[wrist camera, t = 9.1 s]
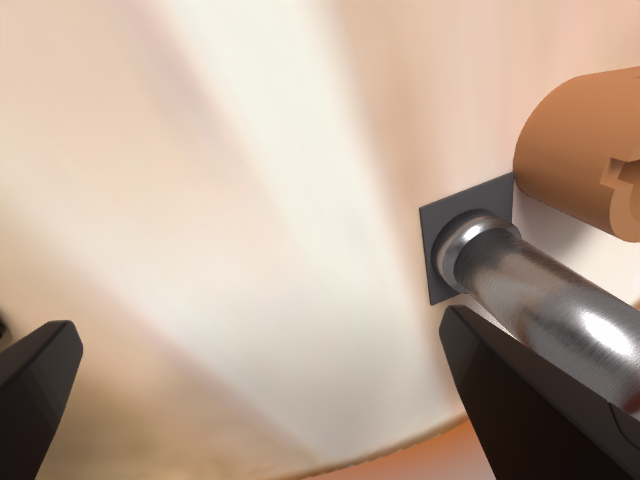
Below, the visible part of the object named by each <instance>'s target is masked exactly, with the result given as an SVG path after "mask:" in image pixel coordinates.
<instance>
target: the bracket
mask: <svg viewBox="0 0 640 480" xmlns="http://www.w3.org/2000/svg"><path fill="white" fill-rule="evenodd" d="M513 172H514V177H515V180H516V183H517V185H518V187H519V188H520V189H521V190H522V192H523V193H525V194H526V195H528V196H530V197H532V198H534V199H536V200H538V201H540V202H543V203H545V204H547V205H549V206H551V207H553V208H555V209H557V210H560V211H562V212H564V213H566V214H568V215H570V216H572V217H574V218H577V219H579V220H581V221H583V222H585V223H587V224H589V225H592V226H594V227H596V228H598V229H600V230H602V231H604V232H606V233H609V234H611V235H613V236H615V237H617V238H619V239H621V240H623V241H627V242H633V243H635V242H640V66H639V67H633V68H626V69H620V70H613V71H607V72H601V73H594V74H588V75H582V76H578V77H575V78H573V79H570V80H568V81H566V82H565V83H563V84H561V85H560V86H558V87H557V88H556V89H554V90H553V91H552V92H551V93H549V94H548V95H547V96H546V97H545V98H544V99H543V100H542V101H541V102H540V103H539V105H538V106H537V107H536V108H535V110H534V111H533V112H532V114H531V115H530V117H529V118H528V120H527V122H526V123H525V125H524V127H523V129H522V131H521V134H520V136H519V138H518V141H517V144H516V149H515V154H514V159H513Z"/></svg>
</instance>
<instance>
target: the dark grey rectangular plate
mask: <svg viewBox="0 0 640 480" xmlns="http://www.w3.org/2000/svg"><path fill="white" fill-rule="evenodd" d="M513 187H514V172H510V173H508V174H505V175H503V176H500V177H498V178H495V179H492V180H490V181H487V182H485V183H482V184H480V185H477V186H474V187H472V188H469V189H467V190H464V191H461V192H459V193H456V194H454V195H451V196H449V197H446V198H443V199H441V200H438V201H436V202H433V203H431V204H428V205H425V206H423V207H420V208H419V209H420V218H421V226H422V235H423V244H424V252H425V261H426V270H427V278H428V287H429V296H430V304H431V305H435V304H437V303H440V302H442V301H444V300H447V299H449V298H451V297H454V296H456V295H459V294H461V293H460V292H458V291H456V290H454V289H453V288H452V287H451V286H450V285H449V284H448V283H447V282H446V281H445V280H444V279H443V278H442V277H441V276H440V275H439V274H438V273H437V272H436V271H435V270H434V268H433V266H432V263H431V249H432V246H433V243H434V241H435V239H436V237H437V235H438V234H439V232H440V231H441V229H442V228H443V227H444V226H445V225H446V224H447V223H448V222H449V221H450V220H452V219H453V218H454V217H456V216H457V215H459V214H461V213H463V212H465V211H468V210H472V209H486V210H489V211H491V212H493V213H495V214H496V215H498V216H500V217H501V218H503V219H505V220H507V221H508V222H510V223H512V206H513Z"/></svg>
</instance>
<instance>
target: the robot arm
mask: <svg viewBox="0 0 640 480" xmlns="http://www.w3.org/2000/svg"><path fill="white" fill-rule="evenodd" d="M5 332H6V328H5V327H4V325H2V324H1V323H0V339H1V338H2V336H3V335H4V333H5ZM439 336H440V339H441V342H442V345H443V349H444V352H445V355H446V358H447V361H448V364H449V367H450V370H451V373H452V376H453V379H454V382H455V385H456V388H457V391H458V393H459V396H460V398H461V400H462V403H463V405H464V407H465V410H466V412H467V414H468V416H469V419H470V421H471V423H472V425H473V428H474V430H475V432H476V434H477V437H478V439H479V441H480V444H481V446H482V448H483V450H484V452H485V455H486V457H487V459H488V462H489V464H490V466H491V468H492V470H493V473H494V475H495V477H496V480H640V421H639V420H637V419H636V418H634V417H632V416H631V415H629V414H628V413H626V412H625V411H623V410H622V409H620V408H619V407H617V406H616V405H614V404H613V403H611V402H608V401H607V400H606V399H605V398H604V397H602V396H601V395H599V394H598V393H596V392H595V391H593V390H592V389H590V388H589V387H587V386H585V385H584V384H582V383H581V382H579V381H578V380H576V379H575V378H573V377H572V376H570V375H569V374H567V373H566V372H564V371H563V370H561V369H560V368H558V367H557V366H555V365H554V364H552V363H551V362H549V361H548V360H546V359H545V358H543V357H542V356H540V355H539V354H537V353H536V352H534V351H533V350H531V349H530V348H528V347H527V346H525V345H524V344H522V343H521V342H519V341H518V340H516V339H514V338H513V337H511V336H510V335H508V334H507V333H505V332H504V331H502V330H501V329H499V328H498V327H496V326H495V325H493V324H492V323H490V322H489V321H487V320H486V319H484V318H483V317H481V316H480V315H478V314H477V313H475V312H474V311H472V310H471V309H469V308H468V307H466V306H464V305H449V306H448V307H447V308H446V310H445V312H444V315H443V318H442V321H441V324H440V327H439ZM82 355H83V344H82V342H81V339H80V337H79V334H78V332H77V330H76V327H75V325H74V323H73V322H72V321H70V320H54V321H49V322H47V323H45V324H44V325H42V326H41V327H39V328H38V329H36V330H35V331H33V332H31V333H30V334H28V335H27V336H25V337H24V338H22V339H21V340H19V341H18V342H16V343H15V344H13V345H12V346H10V347H8V348H7V349H5V350H4V351H2V352H1V353H0V480H34V479H35V477H36V475H37V473H38V471H39V468H40V466H41V464H42V462H43V460H44V457H45V455H46V453H47V451H48V448H49V446H50V444H51V442H52V440H53V437H54V435H55V433H56V431H57V428H58V426H59V424H60V421H61V418H62V416H63V413H64V410H65V407H66V404H67V401H68V398H69V395H70V392H71V389H72V386H73V383H74V380H75V377H76V374H77V371H78V368H79V364H80V361H81V358H82Z"/></svg>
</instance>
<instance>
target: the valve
mask: <svg viewBox="0 0 640 480" xmlns="http://www.w3.org/2000/svg"><path fill="white" fill-rule="evenodd" d="M431 263H432V266H433V268H434V270H435V271H436V272H437V273H438V274H439V275H440V276H441V277H442V278H443V279H444V280H445V281H446V282H447V283H448V284H449V285H450V286H451V287H452V288H453V289H454V290H456V291H458V292H460V293H465V294H470V295H471V296H472V297H473V298H474V299H475V300H476V301H477V302H478V303H479V304H481V305H482V306H483V307H484V308H485V309H486V310H487V311H488V312H489V313H490V314H491V315H492V316H493V317H494V318H495V319H496V320H497V321H498V322H499V323H501V324H502V325H503V326H504V327H505V328H506V329H507V330H508V331H509V332H510V333H511V334H512V335H513V336H514V337H515V338H516V339H517V340H518V341H519V342H521V343H522V344H524V345H525V346H527V347H528V348H530V349H531V350H533V351H534V352H536V353H537V354H539V355H540V356H542V357H543V358H545V359H546V360H548V361H549V362H551V363H552V364H554V365H555V366H557V367H558V368H560V369H561V370H563V371H564V372H566V373H567V374H569V375H570V376H572V377H573V378H575V379H576V380H578V381H579V382H581V383H582V384H584V385H585V386H587V387H589V388H590V389H592V390H593V391H595V392H596V393H598V394H599V395H601V396H602V397H604V398H605V399H606V400H607V401H608V402H611V403H613V404H614V405H616V406H617V407H619V408H620V409H622V410H623V411H625V412H626V413H628V414H629V415H631V416H632V417H634V418H636V419H637V420H639V421H640V311H638V310H636V309H635V308H633V307H631V306H630V305H628V304H627V303H625V302H623V301H622V300H620V299H618V298H617V297H615V296H614V295H612V294H610V293H609V292H607V291H605V290H604V289H602V288H601V287H599V286H597V285H596V284H594V283H592V282H591V281H589V280H588V279H586V278H584V277H583V276H581V275H579V274H578V273H576V272H575V271H573V270H571V269H570V268H568V267H566V266H565V265H563V264H562V263H560V262H558V261H557V260H555V259H553V258H552V257H550V256H549V255H547V254H545V253H544V252H542V251H540V250H539V249H537V248H536V247H534V246H532V245H531V244H529V243H527V242H526V241H524V240H523V239H521V234H520V232H519V230H518V228H517V227H516V226H515V225H513V224H512V223H510V222H508V221H507V220H505V219H503V218H501V217H500V216H498V215H496V214H495V213H493V212H491V211H489V210H486V209H472V210H468V211H465V212H463V213H461V214H459V215H457V216H456V217H454V218H453V219H452V220H450V221H449V222H448V223H447V224H446V225H445V226H444V227H443V228H442V229H441V231H440V232H439V234H438V235H437V237H436V239H435V241H434V243H433V246H432V249H431Z"/></svg>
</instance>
